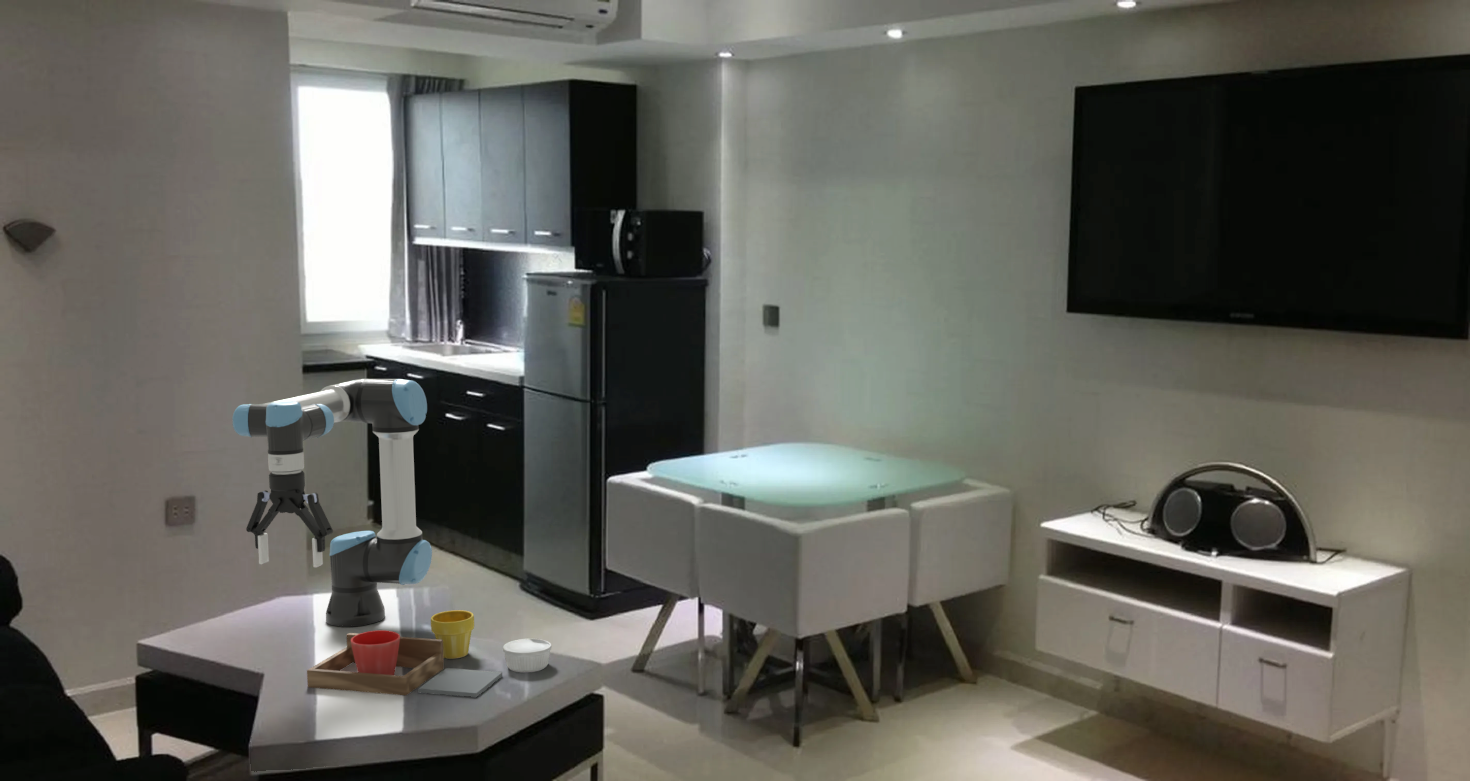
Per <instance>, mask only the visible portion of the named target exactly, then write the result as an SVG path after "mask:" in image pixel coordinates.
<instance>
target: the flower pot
mask: <svg viewBox="0 0 1470 781" xmlns="http://www.w3.org/2000/svg"><path fill="white" fill-rule="evenodd" d="M357 634H358V635H355V636H354V637H352V638H351V646H352V650H353V655H354V659H355V663H356V664H355V663H354V664H355V666H356V670H357V671H356V672H360V673H373V674H385V675H395V674H396V668H397V667H396V663H397V657H398V650H399V643H400V637H401V635H400V633H398V632H396V631H392V630H370V631H369V630H368V631H365V632H361V633H357Z"/></svg>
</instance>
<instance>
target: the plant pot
mask: <svg viewBox="0 0 1470 781" xmlns="http://www.w3.org/2000/svg"><path fill="white" fill-rule="evenodd" d="M430 628H431V632H432V633H433V634H434V637H435V638H434V639H440V640H443V659H447V660H454V659H455V660H456V659H460V658H461V659H462V658H464V657H466V656H467V655H468V654H469V649H470V644H471V643H470V642H471V638H472V637H471V636H472V631H473V630H474V629H475V615H474V613H473V612H471V611H468V610H462V609H461V610H459V609H458V610H457V609H456V610H445V611H441V612H437V613H435V614H433V615H432V616H431V617H430Z"/></svg>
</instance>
